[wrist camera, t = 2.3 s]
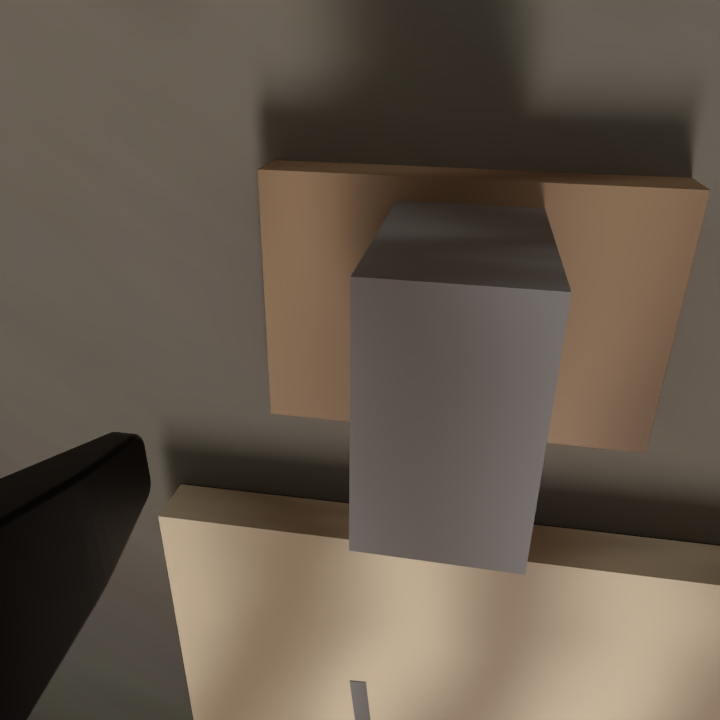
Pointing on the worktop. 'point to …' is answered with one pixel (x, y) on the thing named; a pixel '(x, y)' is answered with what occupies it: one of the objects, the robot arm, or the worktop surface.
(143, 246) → the worktop surface
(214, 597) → the sanding board
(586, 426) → the block
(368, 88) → the worktop surface
